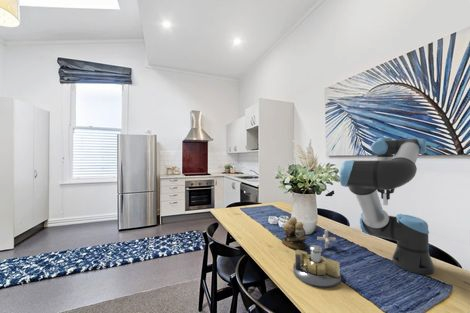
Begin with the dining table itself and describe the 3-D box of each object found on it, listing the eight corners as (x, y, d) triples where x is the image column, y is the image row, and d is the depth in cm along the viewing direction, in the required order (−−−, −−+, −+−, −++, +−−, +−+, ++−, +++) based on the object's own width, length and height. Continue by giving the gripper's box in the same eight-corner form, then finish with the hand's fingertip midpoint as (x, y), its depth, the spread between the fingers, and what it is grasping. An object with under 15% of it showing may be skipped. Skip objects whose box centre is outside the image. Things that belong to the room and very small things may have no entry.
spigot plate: (349, 275, 91) (349, 248, 91) (325, 294, 79) (325, 263, 79) (309, 258, 107) (308, 235, 107) (284, 272, 95) (284, 246, 95)
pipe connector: (338, 252, 114) (338, 234, 114) (319, 250, 116) (318, 233, 116) (333, 244, 123) (333, 228, 123) (315, 243, 125) (315, 227, 125)
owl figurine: (313, 248, 119) (313, 219, 119) (298, 253, 113) (298, 222, 113) (291, 237, 135) (290, 211, 135) (277, 241, 129) (276, 214, 129)
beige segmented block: (342, 271, 91) (341, 258, 91) (335, 281, 83) (335, 268, 83) (300, 257, 103) (300, 246, 103) (291, 265, 96) (291, 253, 96)
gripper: (400, 164, 117) (401, 205, 117) (374, 163, 127) (375, 202, 127) (396, 164, 112) (397, 208, 112) (369, 164, 123) (370, 203, 123)
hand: (385, 204), depth 120 cm, fingers closed
